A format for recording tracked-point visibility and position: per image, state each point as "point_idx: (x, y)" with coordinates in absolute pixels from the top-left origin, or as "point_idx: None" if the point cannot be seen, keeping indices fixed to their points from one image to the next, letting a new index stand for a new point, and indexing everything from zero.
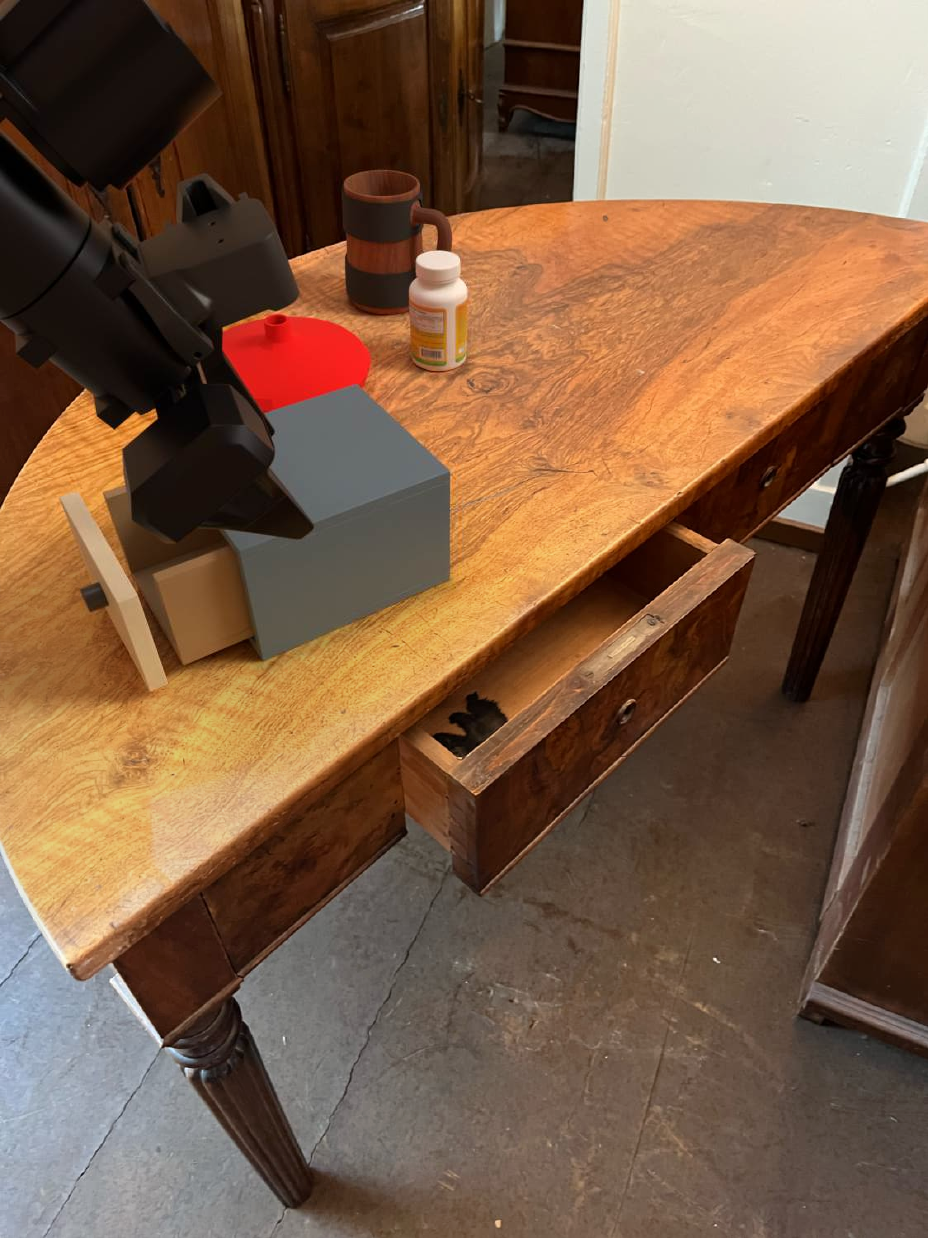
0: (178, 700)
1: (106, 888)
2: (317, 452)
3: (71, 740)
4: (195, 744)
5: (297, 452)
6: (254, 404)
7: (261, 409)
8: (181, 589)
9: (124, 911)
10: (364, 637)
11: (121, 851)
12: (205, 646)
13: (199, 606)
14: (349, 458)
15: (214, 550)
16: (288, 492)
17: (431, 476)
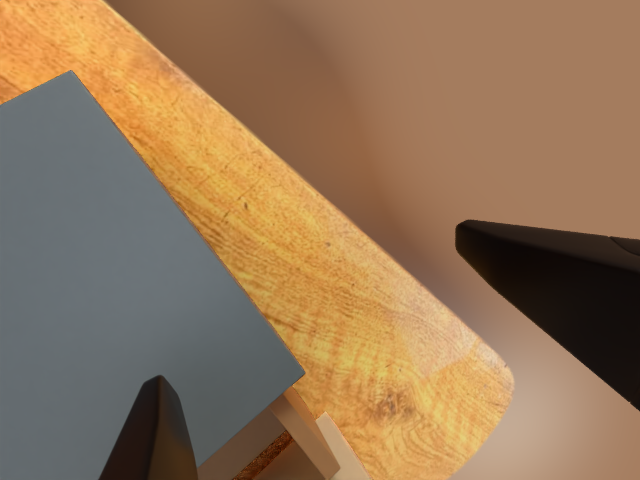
0: (328, 395)
1: (485, 380)
2: (15, 314)
3: (377, 471)
4: (371, 362)
5: (16, 353)
6: (153, 452)
7: (123, 431)
8: (318, 434)
9: (497, 361)
10: (235, 237)
11: (461, 382)
12: (293, 389)
13: (301, 407)
14: (35, 250)
15: None
16: (561, 243)
17: (91, 102)
